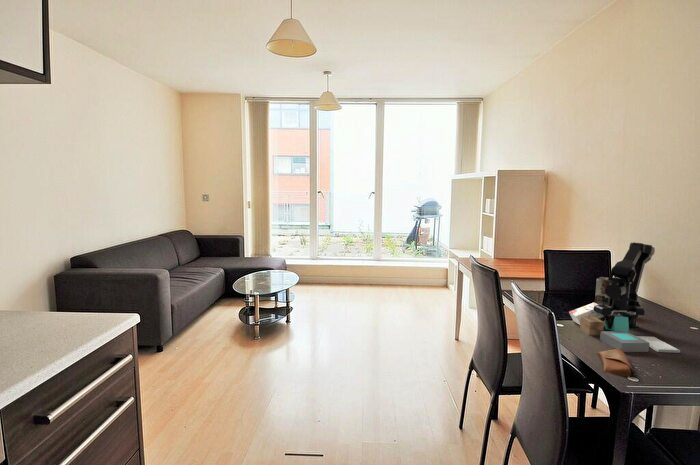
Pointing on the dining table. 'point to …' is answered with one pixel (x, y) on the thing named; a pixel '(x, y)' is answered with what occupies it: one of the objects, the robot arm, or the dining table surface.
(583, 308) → the ink cartridge box
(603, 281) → the coffee box
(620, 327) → the teal block
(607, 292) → the robot arm
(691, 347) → the dining table surface
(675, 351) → the external hard drive
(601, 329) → the walnut block
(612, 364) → the sunglasses case
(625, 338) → the charcoal plinth
